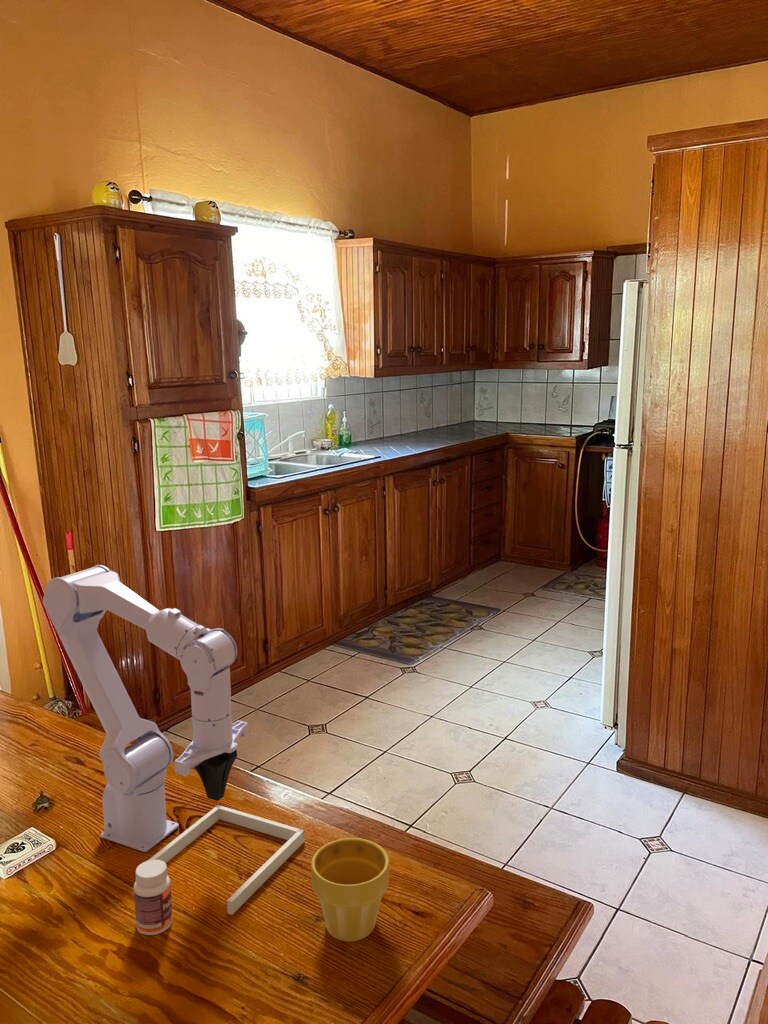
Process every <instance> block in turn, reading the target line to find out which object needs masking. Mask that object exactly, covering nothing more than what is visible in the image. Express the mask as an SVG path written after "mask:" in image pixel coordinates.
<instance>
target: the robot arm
mask: <svg viewBox="0 0 768 1024" xmlns="http://www.w3.org/2000/svg"><path fill="white" fill-rule="evenodd" d="M42 604H43V606H44V608H45V611H46V613H47V615H48V617H49V619H50V620H51V622H52V625H53V626H54V629H55V632H56V633H57V636H58V637H59V639H60V642H61V644H62V646H63V648H64V650H65V652H66V654H67V656H68V658H69V660H70V662H71V664H72V666H73V668H74V671H75V672H76V675H77V676H78V679H79V681H80V682H81V685H82V686H83V689H84V690H85V692H86V695H87V697H88V699H89V701H90V702H91V705H92V707H93V709H94V711H95V713H96V716H97V717H98V720H99V721H100V723H101V726H102V727H103V730H104V731H105V733H106V734H105V735H106V736H105V739H104V741H103V743H102V746H101V747H100V749H99V753H98V756H99V758H100V761H101V762H102V766H103V774H104V778H105V780H106V781H107V782H106V783H107V784H106V785H105V787H104V790H103V793H102V799H101V800H102V813H103V815H102V816H103V824H104V826H103V827H104V831H103V832H102V833H100V838H102V839H104V840H108V841H112V842H115V843H117V844H120V845H123V846H125V847H129V848H131V849H134V850H137V851H139V852H144V853H146V852H148V851H149V850H151V848H153V847H155V846H156V845H157V844H158V843H160V842H161V841H162V840H163V839H165V838H166V837H167V836H169V835H170V834H171V833H173V832H174V831H175V830H177V828H179V824H180V823H178V822H175V821H173V820H168V819H167V808H166V807H167V806H166V790H165V777H166V776H167V774H168V773H167V768H169V766H170V765H171V764H172V763H173V760H174V750H173V745H172V744H171V742H170V741H169V739H168V738H167V737H166V736H165V735H164V734H163V733H162V732H161V731H160V729H159V727H158V725H157V723H156V722H154V721H152V720H149V719H145V718H141V717H140V715H139V714H138V712H137V709H136V707H135V706H134V703H133V701H132V699H131V697H130V696H129V694H128V691H127V689H126V687H125V685H124V683H123V681H122V679H121V677H120V675H119V673H118V671H117V669H116V668H115V665H114V663H113V661H112V659H111V656H110V655H109V652H108V651H107V649H106V647H105V645H104V643H103V641H102V638H101V636H100V635H99V633H98V627H99V624H100V620H101V619H103V617H104V615H105V614H106V612H107V611H109V612H110V613H111V614H112V613H113V614H114V615H116V616H118V617H120V618H122V619H123V620H125V621H128V622H130V623H132V624H133V625H136V626H138V627H140V628H142V629H144V630H145V633H146V637H147V640H148V641H149V642H150V643H151V644H153V645H155V646H156V647H158V648H160V649H161V650H162V651H164V652H166V653H167V654H169V655H171V656H172V657H173V658H176V659H177V660H179V662H180V665H181V666H180V667H181V669H182V670H183V672H184V674H185V675H186V679H187V685H188V686H189V689H190V700H191V701H190V702H191V721H192V722H191V723H192V741H191V742H190V743H189V745H188V746H187V747H186V749H185V750H184V751H183V752H182V754H181V755H180V756H179V757H178V758H176V759H175V760H174V773H175V774H177V775H180V776H184V777H187V776H188V775H189V774H190V773H191V770H192V769H194V770H196V772H197V774H198V776H199V778H200V779H201V782H202V785H203V788H204V790H205V794H206V797H207V799H210V800H213V801H216V802H219V801H220V800H222V799H223V798H224V796H225V792H226V787H227V783H228V779H229V774H230V773H231V770H232V767H233V764H234V763H235V761H236V759H237V758H238V743H237V741H239V738H240V737H247V735H249V723H248V722H247V721H242V720H238V719H237V720H236V721H234V722H232V721H233V720H232V719H233V718H232V716H233V715H232V714H233V713H232V693H231V692H232V689H231V688H232V687H231V686H232V685H231V667H230V666H231V665H232V664H234V663H235V660H236V659H237V656H238V647H237V643H236V641H235V639H234V638H233V636H232V635H231V634H230V633H228V632H227V631H226V630H225V629H223V628H221V627H219V628H218V627H217V628H213V629H210V628H209V627H207V628H206V627H205V626H204V625H202V624H198V623H196V622H195V621H193V620H191V619H189V618H188V617H186V616H184V615H183V614H182V611H181V610H179V609H177V608H176V607H174V608H171V607H168V608H164V609H161V610H159V609H158V608H156V607H155V606H154V605H153V604H151V603H150V602H148V600H145V599H144V598H142V596H140V595H138V594H137V593H136V592H135V591H133V590H131V589H130V588H129V587H128V586H126V585H125V584H124V583H122V581H121V578H120V575H119V574H118V573H117V572H115V571H113V570H111V569H110V568H108V567H107V566H105V565H102V564H96V565H94V566H91V567H90V568H86V569H83V570H80V571H78V572H73V573H70V574H66V575H63V576H61V577H59V576H57V577H54V578H52V579H50V580H49V581H47V584H46V585H45V590H44V594H43V597H42ZM135 740H136V741H135ZM133 741H135V742H133ZM132 742H133V743H132ZM130 743H132V744H130ZM128 744H129V745H128ZM127 745H128V746H127Z"/></svg>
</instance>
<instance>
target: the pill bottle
mask: <svg viewBox="0 0 768 1024" xmlns="http://www.w3.org/2000/svg"><path fill="white" fill-rule="evenodd" d="M148 860H149V859H148ZM148 860H146V861H143V862H142V863H140V864H139V865H138V866H136V869H135V882H134V884H133V899H134V912H135V913H134V914H135V926H136V930H137V932H139V933H140V934H142V935H145V936H156V935H159V934H162V933H163V932H165V931H166V930H168V929H169V928H170V927H171V926H172V923H173V904H172V903H173V902H172V901H173V900H172V899H173V898H172V883H171V879H170V876H169V875H168V867H167V864H166V863H165V862H163V861H161V860H149V861H148Z"/></svg>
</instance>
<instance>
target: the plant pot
mask: <svg viewBox="0 0 768 1024" xmlns="http://www.w3.org/2000/svg"><path fill="white" fill-rule="evenodd" d="M310 875H311V876H310V879H311V887H312V890H313V892H314V894H315V895H316V897H317V898H318V900H319V904H320V908H321V912H322V916H323V920H324V924H325V927H326V930H327V932H328V934H330V936H332V937H333V938H335V939H336V940H339V941H341V942H349V943H350V942H351V943H352V942H357V941H360V940H363V939H365V938H366V937H368V936H369V935H370V934H371V933H372V932H373V931H374V929H375V926H376V924H377V923H376V922H377V919H378V918H377V917H378V914H379V913H378V912H379V909H380V906H381V901H382V897H383V895H384V894H385V893H386V891H387V889H388V886H389V883H390V881H389V880H390V857H389V855H388V853H387V852H386V850H385V849H384V848H383V847H382V846H381V845H379V844H377V843H376V842H374V841H371V840H369V839H365V838H360V837H344V838H337V839H336V840H332V841H329V842H328V843H326V844H324V845H322V846H320V847H319V848H318V849H317V850H316V851H315V853H314V854H313V856H312V858H311V863H310Z"/></svg>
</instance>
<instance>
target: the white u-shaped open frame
mask: <svg viewBox="0 0 768 1024" xmlns="http://www.w3.org/2000/svg"><path fill="white" fill-rule="evenodd" d="M220 820H221V821H224V822H226V823H229V824H234V825H236V826H240V827H243V828H246V829H249V830H252V831H256V832H259V833H263V834H265V835H269V836H273V837H276V838H279V839H283V840H285V841H286V842H285V843H284V844H282V846H281V847H280V848H279V849H278V850H276V851H275V853H274V854H273V855H272V856H271V857H270V858H269V859H268V860H267V861H266V862H264V863H263V864H262V865H261V866H260V867H259V868H258V869H257V870H256V871H255V872H254V873H253V874H252V875H251V876H250V877H249V878H248V879H247V880H246V881H245V882H244V883H243V884H242V885H241V886H239V888H237V890H236V891H235V892H234V893H232V895H231V896H230V897H229V898H227V900H226V909H227V910H226V913H227V914H228V915H231V916H233V915H234V914H235V913H236V912H237V911H238V910H239V909H240V908H241V907H242V906H243V905H244V904H245V903H246V902H247V901H248V900H249V898H251V896H253V895H254V894H255V893H256V891H258V890H259V888H261V886H262V885H263V884H265V882H267V880H269V878H270V877H271V876H273V875H274V874H275V872H276V871H277V870H278V869H279V868H280V867H281V866H282V865H283V864H284V863H286V862H287V860H288V859H289V858H290V857H291V856H293V854H294V853H295V852H296V851H297V850H298V849H299V848H300V847H302V845H303V844H304V843H305V830H304V829H301V828H298V827H294V826H291V825H288V824H285V823H284V824H283V823H281V822H278V821H275V820H270V819H266V818H263V817H260V816H257V815H254V814H250V813H248V812H244V811H240V810H237V809H233V808H230V807H226V806H223V805H219V804H217V805H216V806H214V807H213V808H212V809H210V811H208V812H207V813H205V814H204V815H203V816H202V817H201V818H199V819H198V820H196V822H194V823H192V825H190V827H188V828H187V829H185V830H184V831H183V832H182V833H181V834H179V835H177V836H176V838H174V839H173V840H172V841H170V842H169V843H168V844H166V845H165V846H164V847H163V848H161V849H160V850H159V851H158V852H157V853H155V854H153V856H151V857H150V858H148V860H147V861H149V860H161V861H163V862H165V863H168V862H169V861H170V860H172V859H173V858H174V857H176V855H179V853H180V852H182V851H183V850H184V849H185V848H186V847H187V846H189V845H190V844H191V843H193V842H194V841H195V840H196V839H197V838H198V837H200V836H202V834H204V833H206V831H207V830H209V829H210V828H211V827H212V826H213V825H214V824H216V823H217V822H218V821H220Z"/></svg>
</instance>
